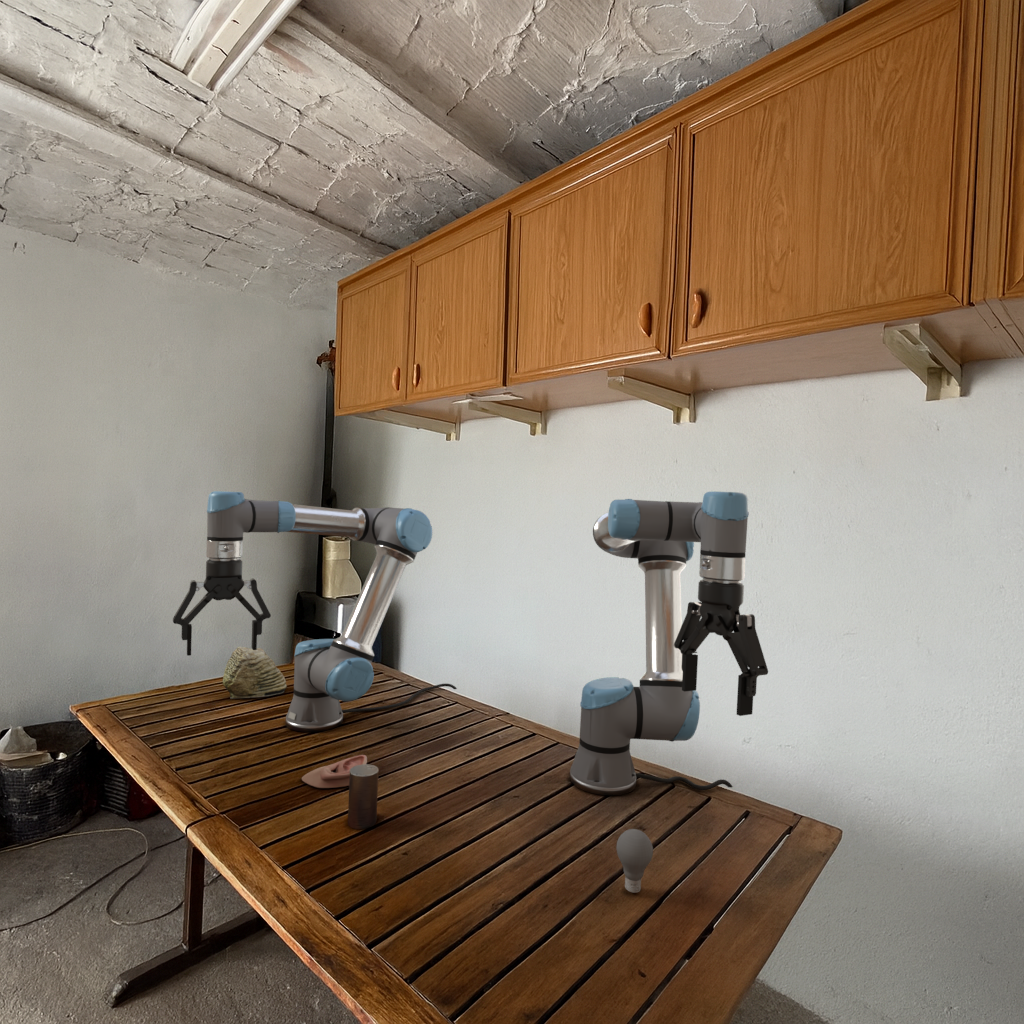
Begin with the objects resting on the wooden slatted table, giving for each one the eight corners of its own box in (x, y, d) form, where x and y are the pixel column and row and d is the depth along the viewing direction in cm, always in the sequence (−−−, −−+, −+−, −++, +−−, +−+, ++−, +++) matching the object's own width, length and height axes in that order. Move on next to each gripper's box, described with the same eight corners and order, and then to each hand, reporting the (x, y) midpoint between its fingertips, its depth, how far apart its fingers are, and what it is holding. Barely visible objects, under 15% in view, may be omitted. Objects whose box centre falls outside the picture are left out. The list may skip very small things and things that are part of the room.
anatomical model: (294, 766, 138) (320, 747, 150) (294, 784, 138) (320, 763, 150) (351, 774, 136) (373, 754, 147) (350, 792, 136) (372, 770, 147)
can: (341, 823, 124) (343, 770, 123) (363, 812, 128) (365, 761, 128) (361, 832, 120) (363, 778, 120) (382, 820, 125) (384, 769, 125)
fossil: (218, 695, 195) (220, 647, 195) (278, 685, 208) (279, 640, 207) (228, 703, 189) (230, 653, 188) (289, 692, 201) (290, 645, 201)
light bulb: (610, 879, 108) (613, 822, 108) (644, 879, 109) (647, 822, 109) (619, 902, 102) (622, 840, 102) (655, 901, 103) (658, 840, 103)
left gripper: (162, 561, 135) (160, 660, 135) (284, 559, 147) (282, 650, 148) (161, 558, 141) (159, 652, 142) (279, 556, 154) (276, 643, 154)
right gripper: (658, 571, 120) (653, 683, 120) (760, 591, 97) (753, 728, 97) (690, 571, 123) (684, 680, 123) (795, 590, 100) (789, 723, 101)
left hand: (222, 651), depth 145 cm, fingers open, 13 cm apart
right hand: (715, 701), depth 110 cm, fingers open, 13 cm apart
